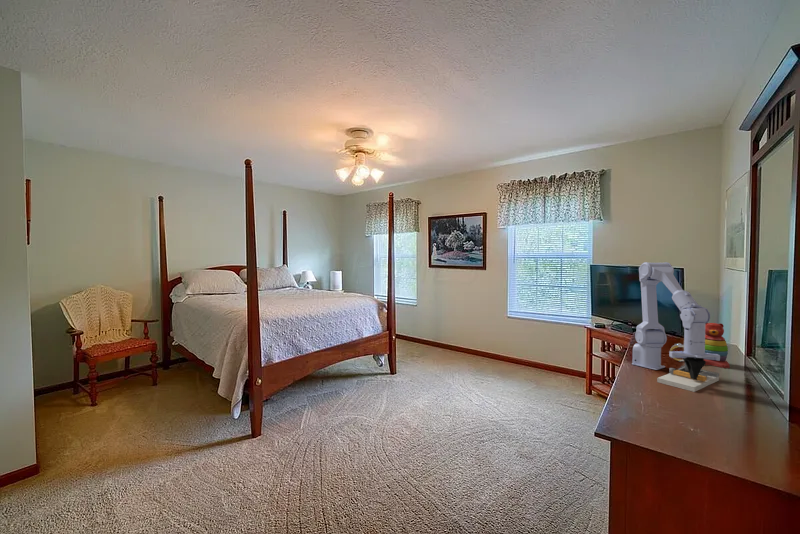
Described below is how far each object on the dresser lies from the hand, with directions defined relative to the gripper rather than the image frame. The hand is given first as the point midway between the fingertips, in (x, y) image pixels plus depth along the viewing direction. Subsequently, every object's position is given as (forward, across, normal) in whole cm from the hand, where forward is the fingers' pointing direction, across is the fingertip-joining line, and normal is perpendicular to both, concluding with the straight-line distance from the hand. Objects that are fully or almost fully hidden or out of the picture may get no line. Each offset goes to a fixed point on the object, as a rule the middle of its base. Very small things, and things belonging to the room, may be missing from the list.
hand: (693, 378), depth 125 cm
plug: (+1, +3, +6) cm, 7 cm away
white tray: (+2, 0, +4) cm, 5 cm away
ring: (+3, +11, +33) cm, 35 cm away
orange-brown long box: (0, 0, +4) cm, 4 cm away
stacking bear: (+3, +23, +33) cm, 40 cm away
